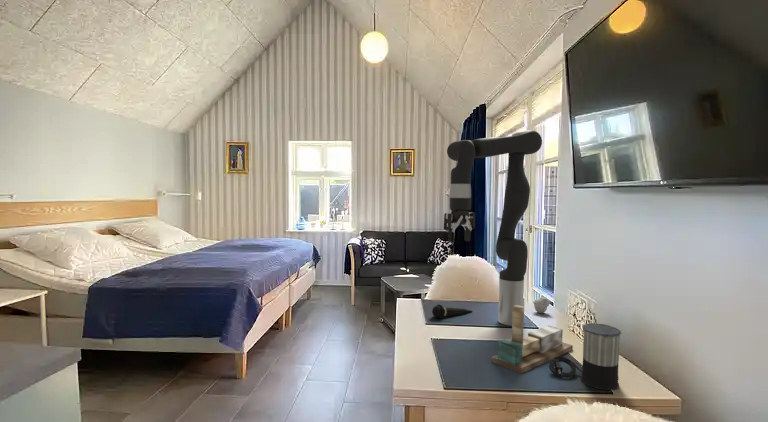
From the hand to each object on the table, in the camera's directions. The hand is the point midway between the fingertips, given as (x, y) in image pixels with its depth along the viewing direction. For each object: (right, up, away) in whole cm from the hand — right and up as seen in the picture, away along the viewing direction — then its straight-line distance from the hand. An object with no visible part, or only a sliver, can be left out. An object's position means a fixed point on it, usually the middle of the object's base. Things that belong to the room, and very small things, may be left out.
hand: (459, 241), depth 149 cm
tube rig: (+20, -34, -20) cm, 44 cm away
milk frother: (+28, -35, -35) cm, 57 cm away
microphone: (+1, -33, +21) cm, 39 cm away
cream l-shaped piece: (+16, -32, -22) cm, 42 cm away
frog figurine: (+40, -32, +27) cm, 58 cm away
